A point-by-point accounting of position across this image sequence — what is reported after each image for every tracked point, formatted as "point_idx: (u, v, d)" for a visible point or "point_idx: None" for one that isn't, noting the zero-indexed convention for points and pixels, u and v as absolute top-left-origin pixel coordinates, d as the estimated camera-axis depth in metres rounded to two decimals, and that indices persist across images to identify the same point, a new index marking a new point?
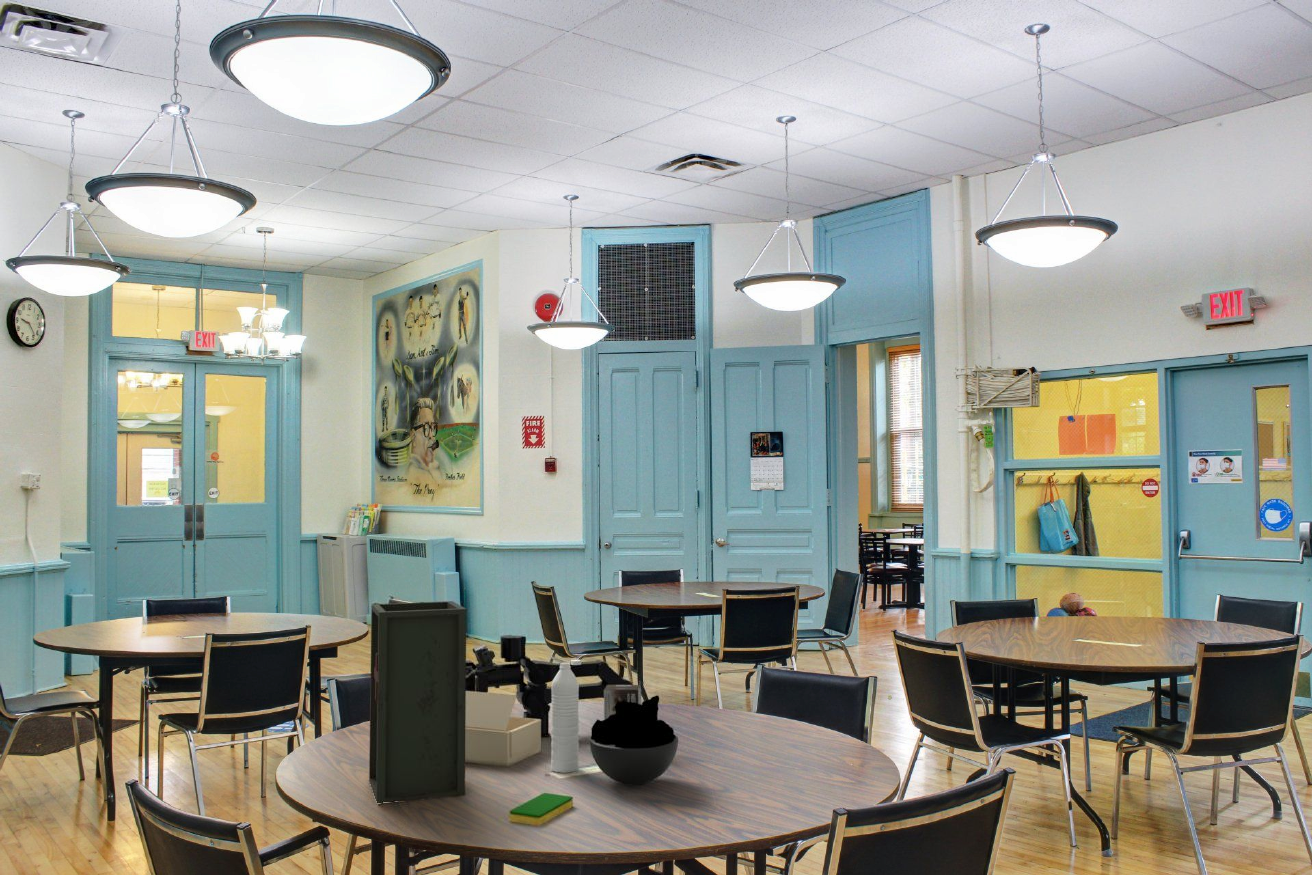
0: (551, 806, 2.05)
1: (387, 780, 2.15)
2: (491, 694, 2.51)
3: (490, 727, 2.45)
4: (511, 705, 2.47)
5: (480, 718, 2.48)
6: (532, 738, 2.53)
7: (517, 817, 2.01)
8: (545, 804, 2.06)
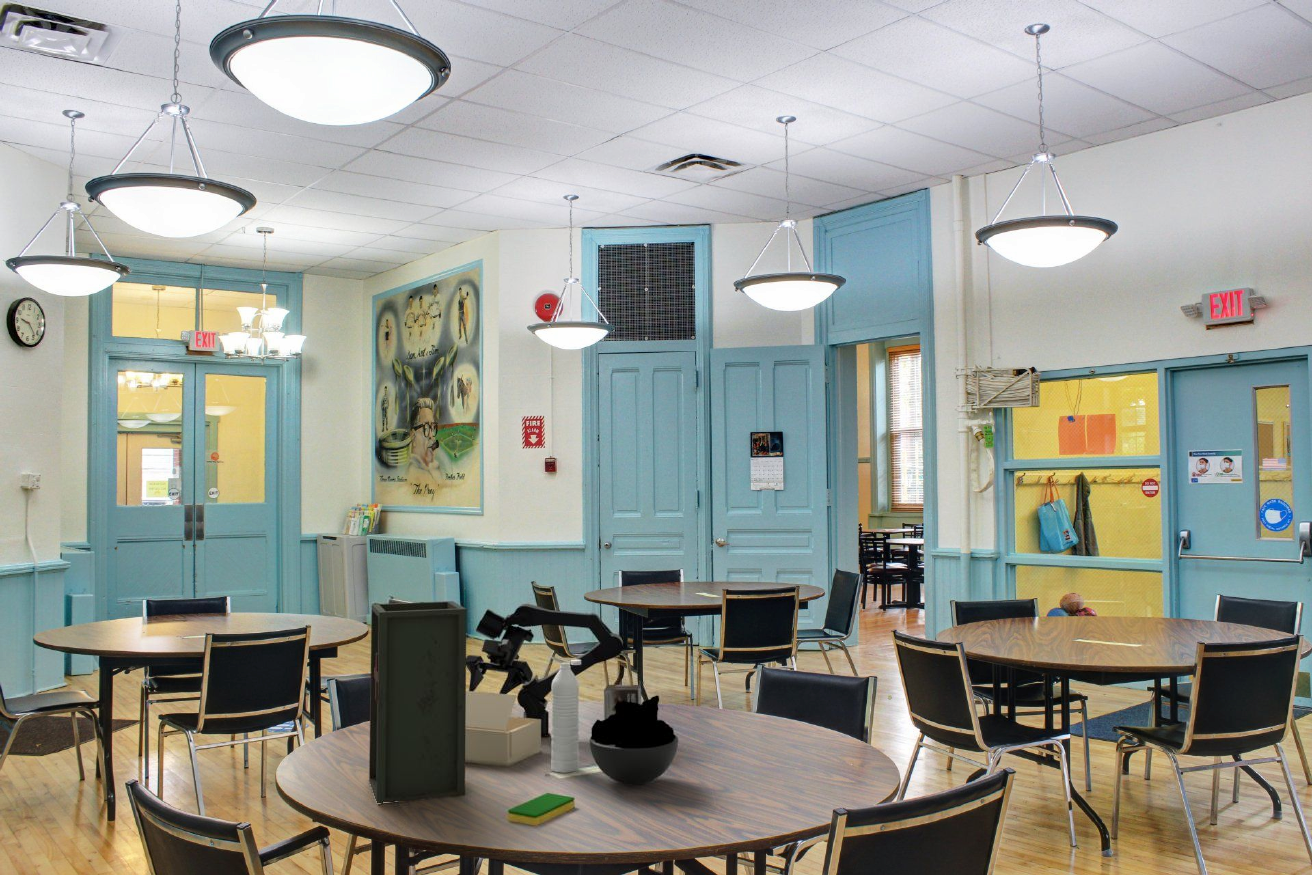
0: (550, 806, 2.05)
1: (387, 780, 2.15)
2: (491, 694, 2.51)
3: (490, 727, 2.45)
4: (511, 705, 2.47)
5: (480, 718, 2.48)
6: (532, 738, 2.53)
7: (515, 817, 2.02)
8: (545, 804, 2.06)
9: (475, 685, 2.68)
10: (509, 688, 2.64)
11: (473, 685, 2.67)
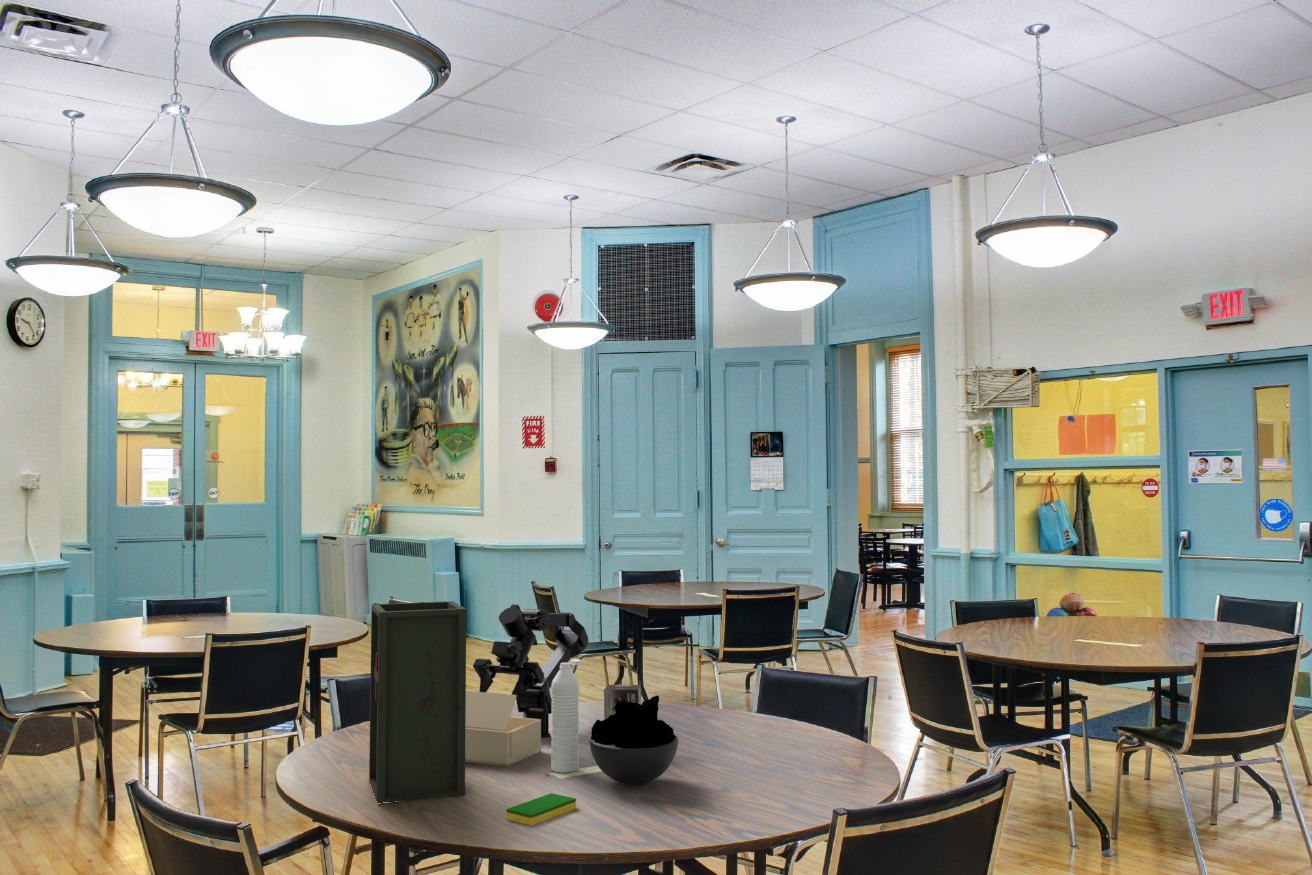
0: (548, 807, 2.05)
1: (387, 780, 2.15)
2: (491, 694, 2.51)
3: (490, 727, 2.45)
4: (511, 705, 2.47)
5: (480, 718, 2.48)
6: (532, 738, 2.53)
7: (513, 816, 2.02)
8: (544, 804, 2.06)
9: (485, 689, 2.61)
10: (521, 690, 2.58)
11: (483, 689, 2.60)
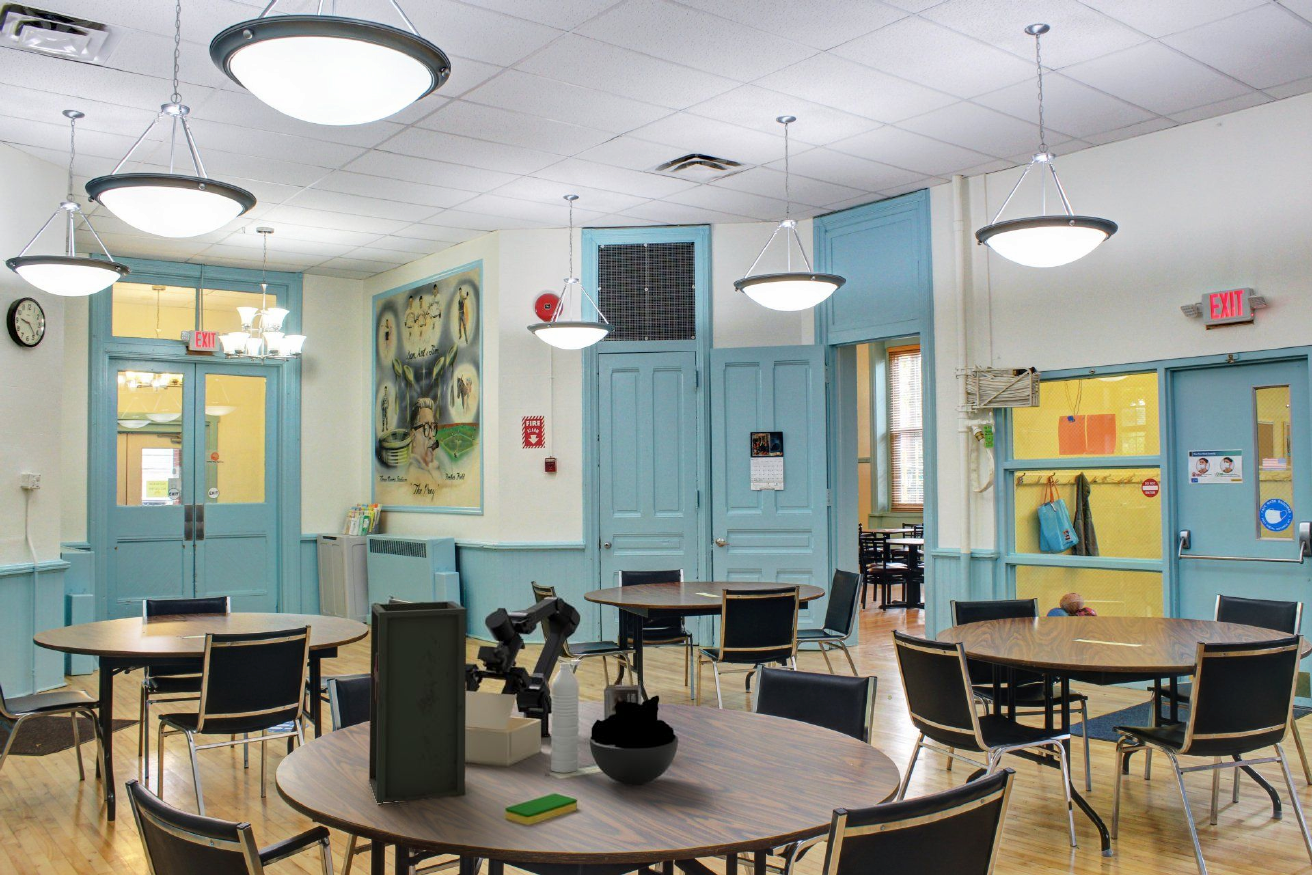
0: (547, 807, 2.04)
1: (387, 780, 2.15)
2: (491, 694, 2.51)
3: (490, 727, 2.45)
4: (511, 705, 2.47)
5: (480, 718, 2.48)
6: (532, 738, 2.53)
7: (511, 815, 2.03)
8: (544, 804, 2.06)
9: None
10: None
11: None
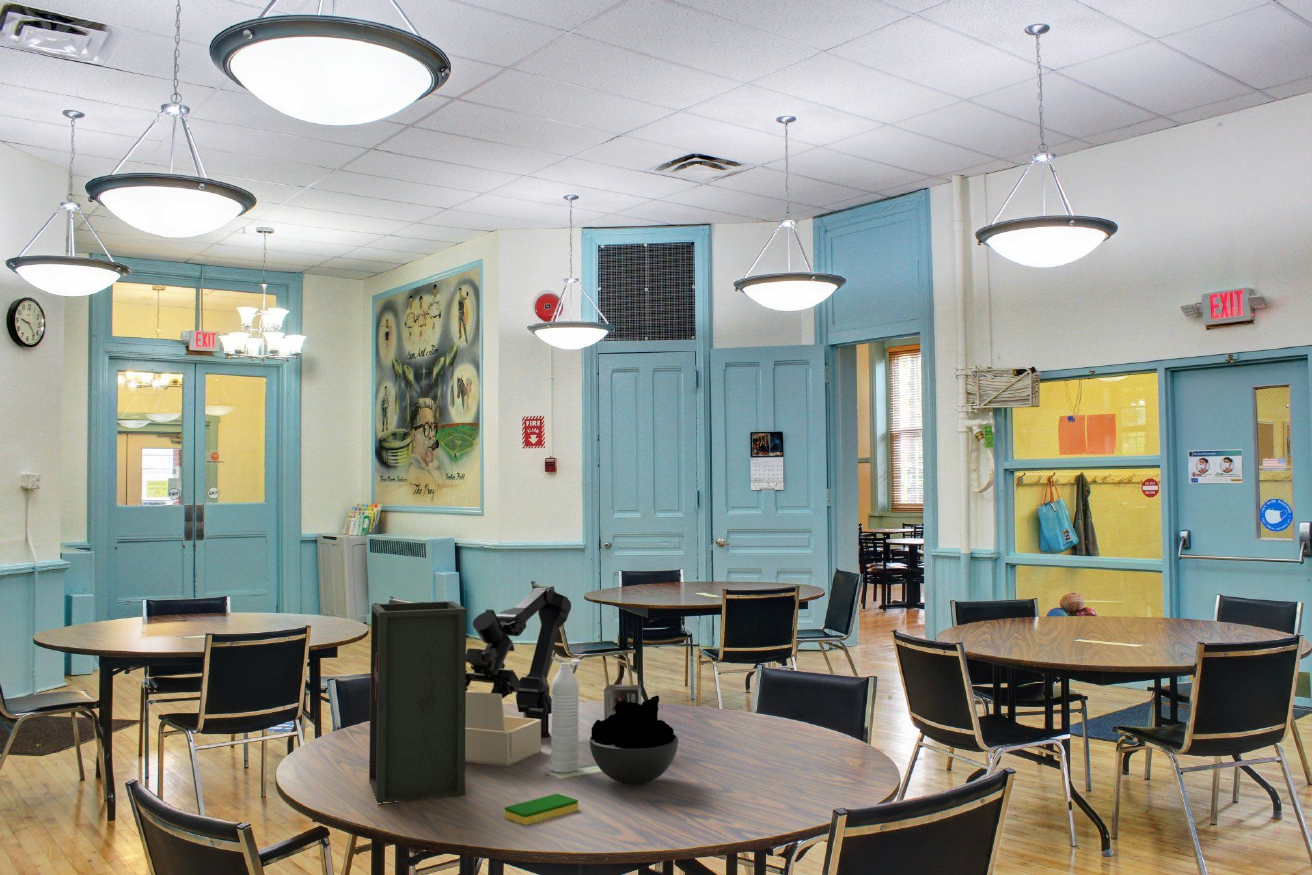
0: (546, 807, 2.04)
1: (387, 780, 2.15)
2: (476, 694, 2.45)
3: (489, 728, 2.45)
4: (500, 705, 2.43)
5: (476, 718, 2.46)
6: (532, 738, 2.53)
7: (509, 814, 2.03)
8: (543, 804, 2.06)
9: None
10: None
11: None
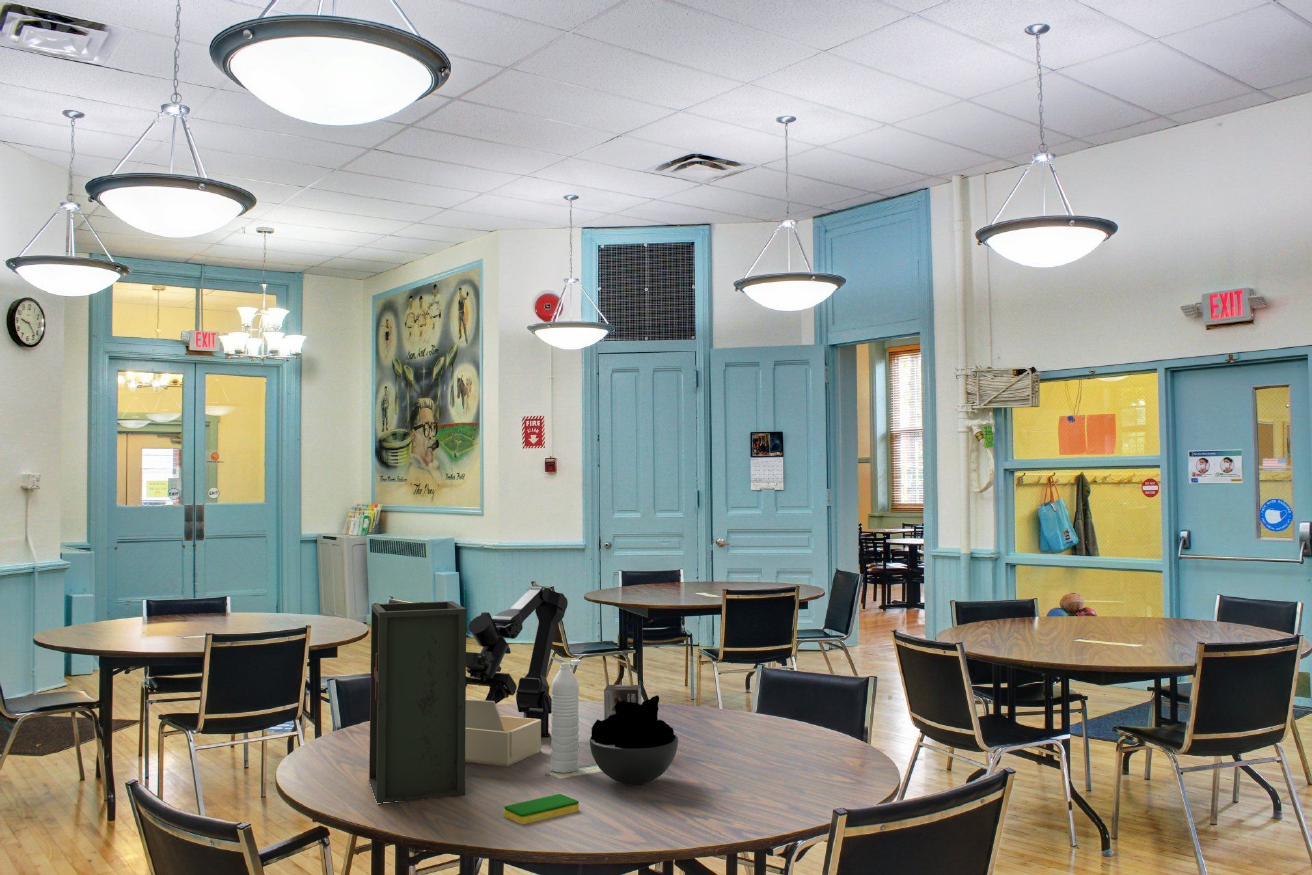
0: (545, 807, 2.04)
1: (387, 780, 2.15)
2: (469, 701, 2.42)
3: (489, 728, 2.45)
4: (496, 711, 2.41)
5: (474, 721, 2.45)
6: (532, 738, 2.53)
7: (508, 814, 2.04)
8: (543, 804, 2.06)
9: None
10: None
11: None
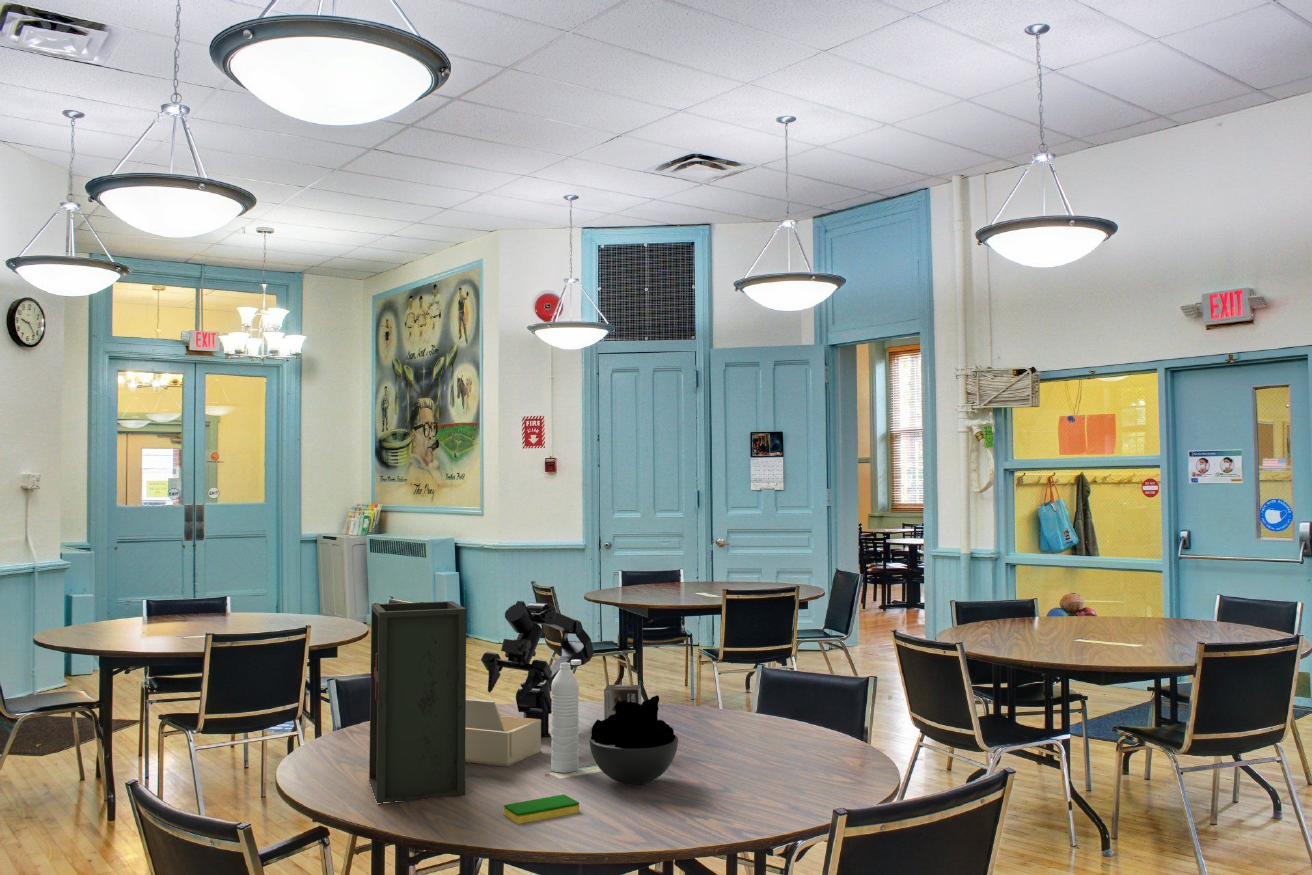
0: (543, 807, 2.04)
1: (387, 780, 2.15)
2: (469, 701, 2.42)
3: (489, 728, 2.45)
4: (496, 711, 2.41)
5: (474, 721, 2.45)
6: (532, 738, 2.53)
7: (507, 812, 2.05)
8: (542, 804, 2.06)
9: (493, 684, 2.66)
10: (529, 688, 2.63)
11: (492, 684, 2.65)
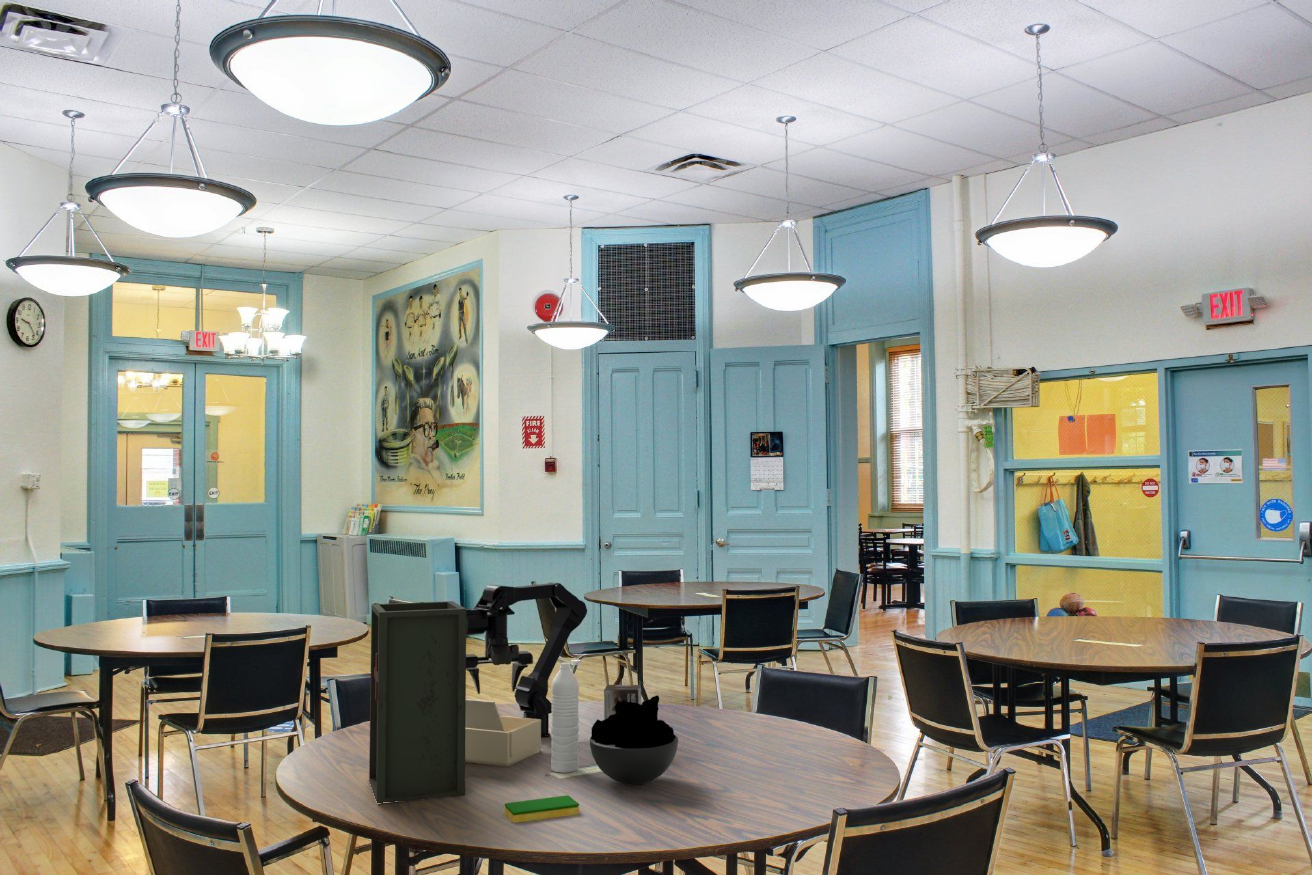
0: (541, 807, 2.04)
1: (387, 780, 2.15)
2: (469, 701, 2.42)
3: (489, 728, 2.45)
4: (496, 711, 2.41)
5: (474, 721, 2.45)
6: (532, 738, 2.53)
7: (506, 811, 2.06)
8: (541, 804, 2.06)
9: None
10: None
11: None
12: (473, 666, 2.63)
